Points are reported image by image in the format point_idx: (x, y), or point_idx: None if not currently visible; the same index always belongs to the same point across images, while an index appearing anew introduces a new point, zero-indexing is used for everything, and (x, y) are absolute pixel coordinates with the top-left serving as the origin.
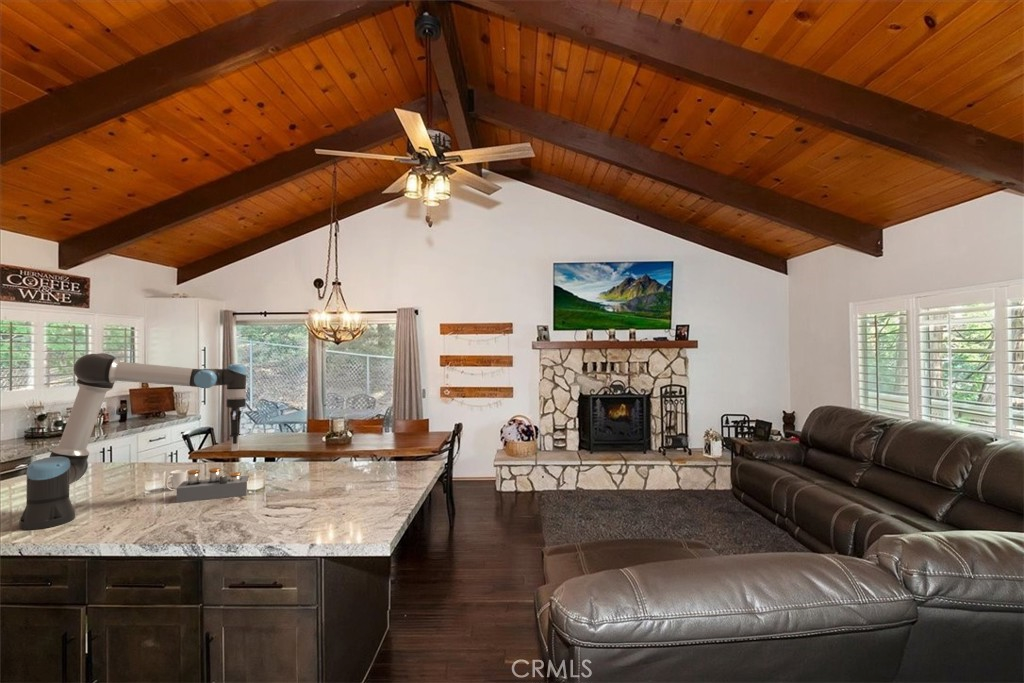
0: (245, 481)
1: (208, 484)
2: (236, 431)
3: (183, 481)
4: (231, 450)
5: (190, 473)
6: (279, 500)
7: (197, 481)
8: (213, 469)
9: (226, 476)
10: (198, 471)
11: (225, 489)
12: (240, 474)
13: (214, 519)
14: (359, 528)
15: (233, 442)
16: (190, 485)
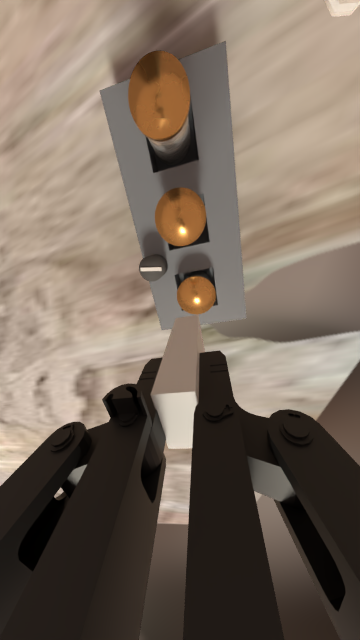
0: (167, 326)
1: (148, 215)
2: (30, 540)
3: (224, 42)
4: (175, 320)
5: (131, 98)
6: (122, 384)
7: (161, 155)
8: (172, 214)
9: (149, 280)
10: (151, 137)
11: None
12: (192, 312)
13: (9, 301)
14: (11, 467)
15: (146, 370)
16: (142, 137)
